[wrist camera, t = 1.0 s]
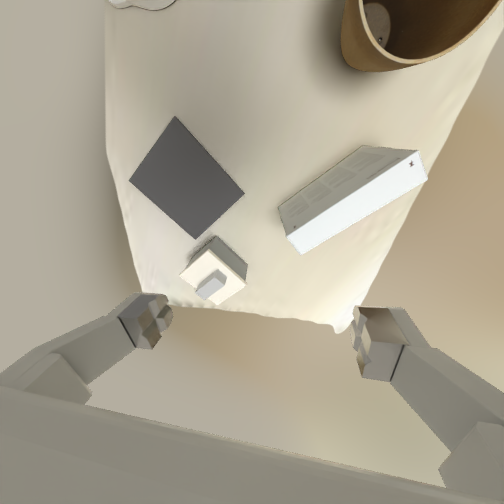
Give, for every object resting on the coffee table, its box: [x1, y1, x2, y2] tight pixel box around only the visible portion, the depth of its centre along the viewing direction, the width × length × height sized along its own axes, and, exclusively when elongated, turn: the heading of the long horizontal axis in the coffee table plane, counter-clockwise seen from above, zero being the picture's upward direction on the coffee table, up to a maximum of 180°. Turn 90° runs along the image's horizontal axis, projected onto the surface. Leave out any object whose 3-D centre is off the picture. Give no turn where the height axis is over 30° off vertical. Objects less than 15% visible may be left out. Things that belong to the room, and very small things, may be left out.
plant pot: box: [341, 0, 502, 72], centre depth 24 cm, size 15×15×16 cm
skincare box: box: [278, 146, 428, 255], centre depth 36 cm, size 21×5×16 cm, turn 128°
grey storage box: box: [185, 236, 248, 281], centre depth 51 cm, size 12×10×8 cm
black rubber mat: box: [129, 116, 245, 240], centre depth 45 cm, size 20×18×1 cm
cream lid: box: [179, 249, 247, 305], centre depth 46 cm, size 13×11×6 cm
